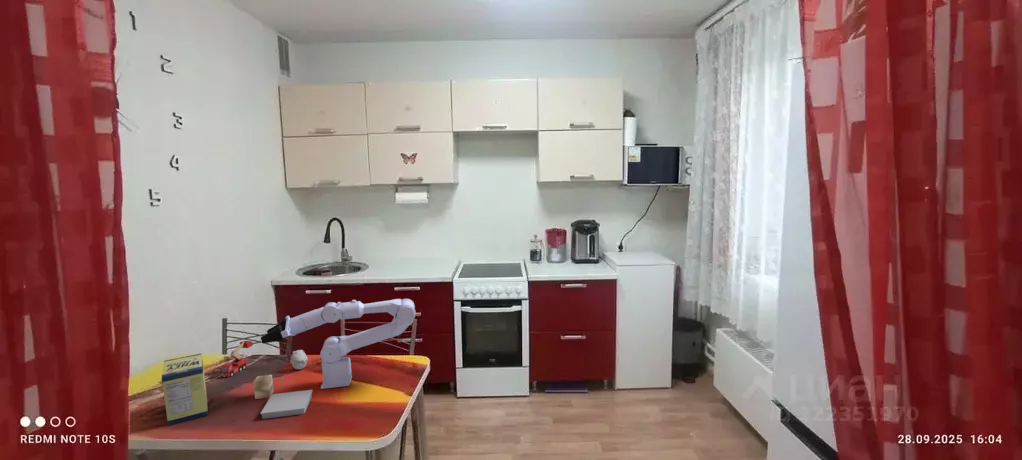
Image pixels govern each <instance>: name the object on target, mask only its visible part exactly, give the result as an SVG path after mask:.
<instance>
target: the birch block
mask: <svg viewBox="0 0 1022 460" xmlns="http://www.w3.org/2000/svg"><path fill="white" fill-rule="evenodd" d="M253 392H254V398H255V400H256V399H257V400H258V399H259V400H260V399H265V398H266V399H267V398H268V399H269V398H270V397H271V395H272V394H274V382H273V375H272V374H265V375H257V376H256V378H255V379H254V380H253Z"/></svg>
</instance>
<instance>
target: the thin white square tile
mask: <svg viewBox="0 0 1022 460" xmlns="http://www.w3.org/2000/svg"><path fill="white" fill-rule="evenodd" d="M312 396H313V389H307V390H297V391H287V392H281V393H280V392H279V393H272V395H271V396H270V397H268V400H267V402H266V403H265V405H264V407H263V408H262V410H261V412H260V415H261V418H262V420H265V419H271V418H272V419H273V418H280V417H281V418H282V417H290V416H296V415H298V416H299V415H304V414H305V413H306V411H307V408H308V407H309V404H310V402H311V400H312Z"/></svg>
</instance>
